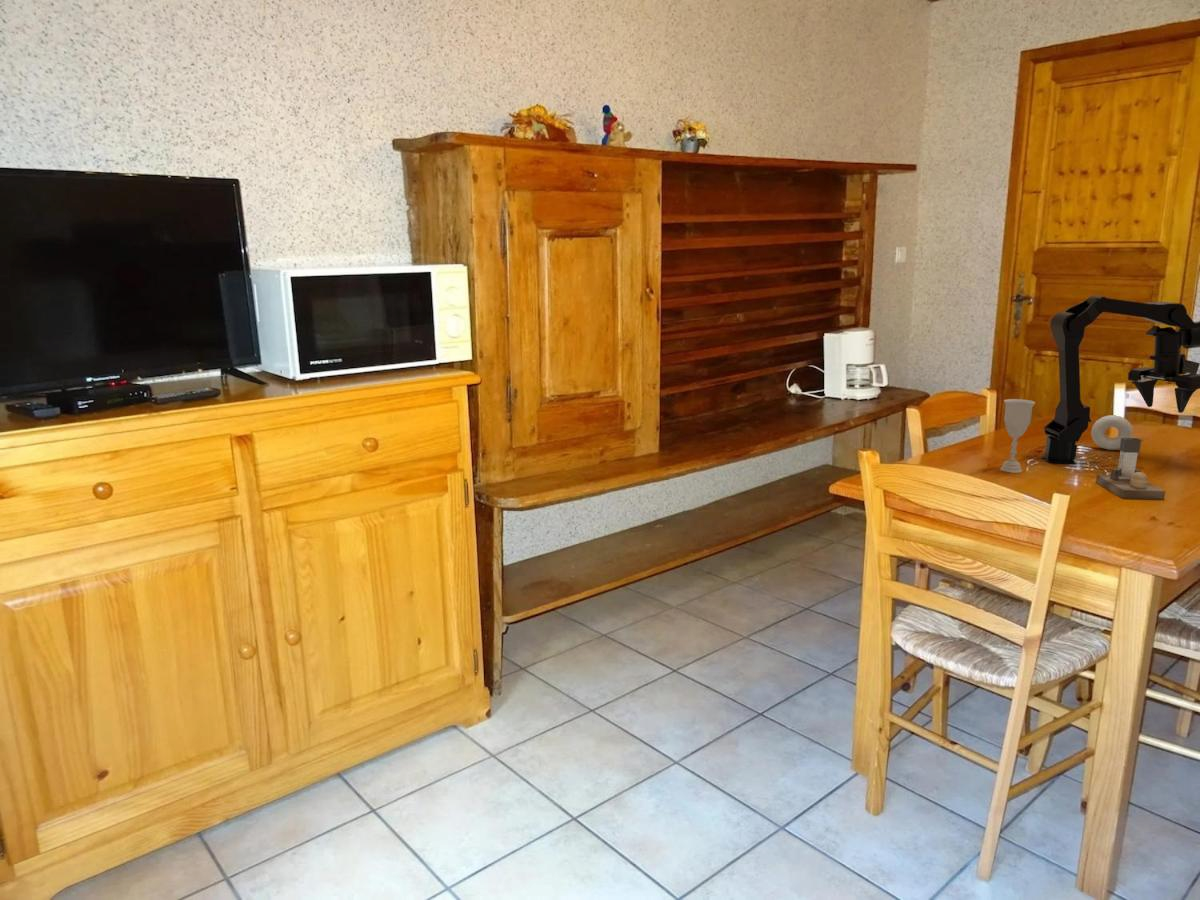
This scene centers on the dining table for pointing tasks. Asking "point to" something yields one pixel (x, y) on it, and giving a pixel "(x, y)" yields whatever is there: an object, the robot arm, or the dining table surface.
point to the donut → (1105, 423)
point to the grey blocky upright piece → (1128, 456)
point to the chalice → (1016, 427)
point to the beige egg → (1138, 480)
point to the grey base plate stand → (1128, 487)
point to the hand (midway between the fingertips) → (1165, 409)
